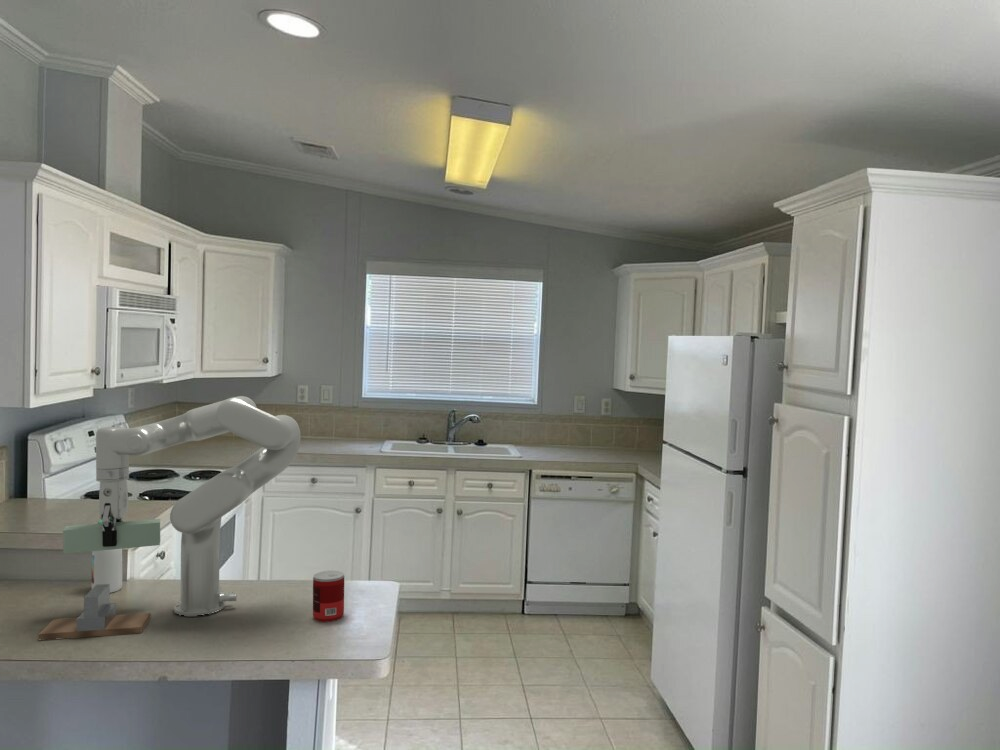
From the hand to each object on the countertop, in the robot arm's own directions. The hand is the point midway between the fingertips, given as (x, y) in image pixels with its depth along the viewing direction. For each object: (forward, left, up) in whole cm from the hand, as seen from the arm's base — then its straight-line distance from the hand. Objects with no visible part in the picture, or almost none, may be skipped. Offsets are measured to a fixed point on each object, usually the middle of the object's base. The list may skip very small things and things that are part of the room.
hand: (113, 542), depth 188 cm
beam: (0, 0, -1) cm, 1 cm away
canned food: (-55, +16, -18) cm, 60 cm away
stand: (0, +13, -18) cm, 22 cm away
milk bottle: (+6, -19, -18) cm, 27 cm away
